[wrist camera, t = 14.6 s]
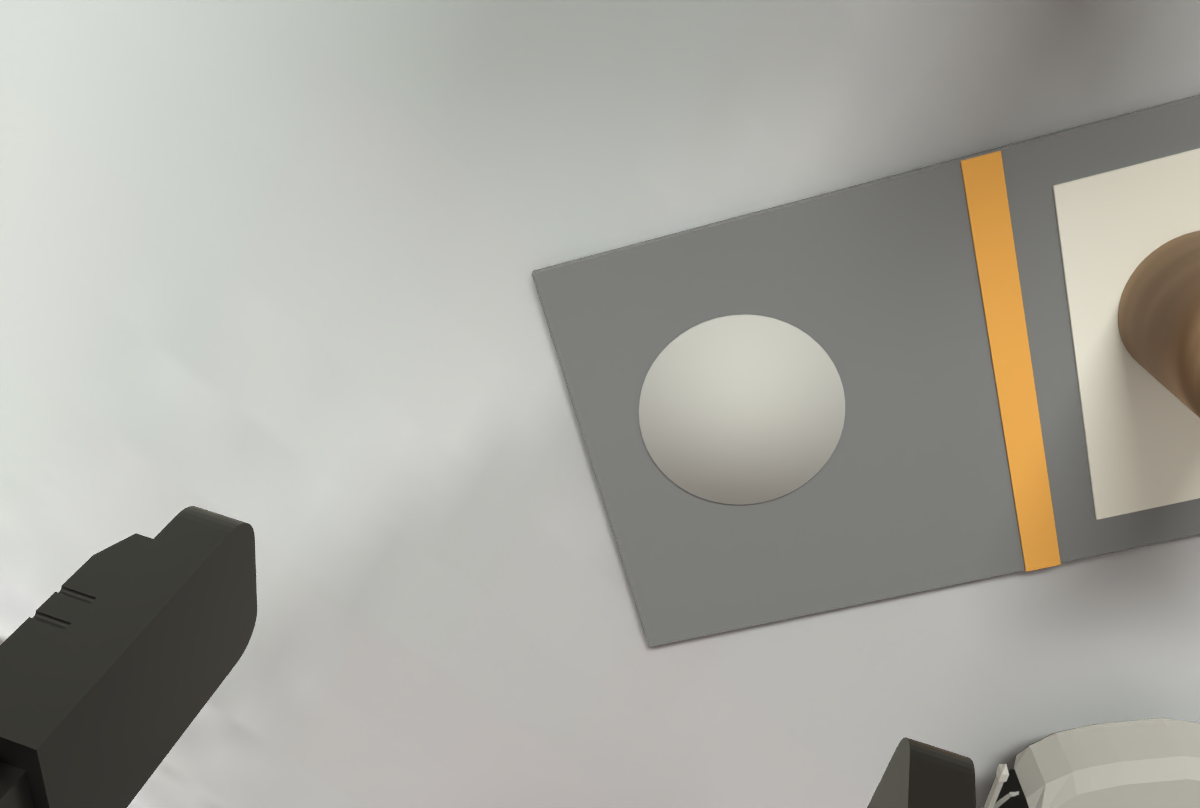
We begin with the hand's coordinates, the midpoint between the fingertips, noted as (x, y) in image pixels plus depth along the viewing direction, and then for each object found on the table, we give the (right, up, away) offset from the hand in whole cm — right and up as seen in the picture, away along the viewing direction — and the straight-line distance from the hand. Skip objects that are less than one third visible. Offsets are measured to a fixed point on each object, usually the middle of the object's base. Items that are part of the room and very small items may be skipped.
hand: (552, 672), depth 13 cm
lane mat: (+12, +4, +24) cm, 27 cm away
